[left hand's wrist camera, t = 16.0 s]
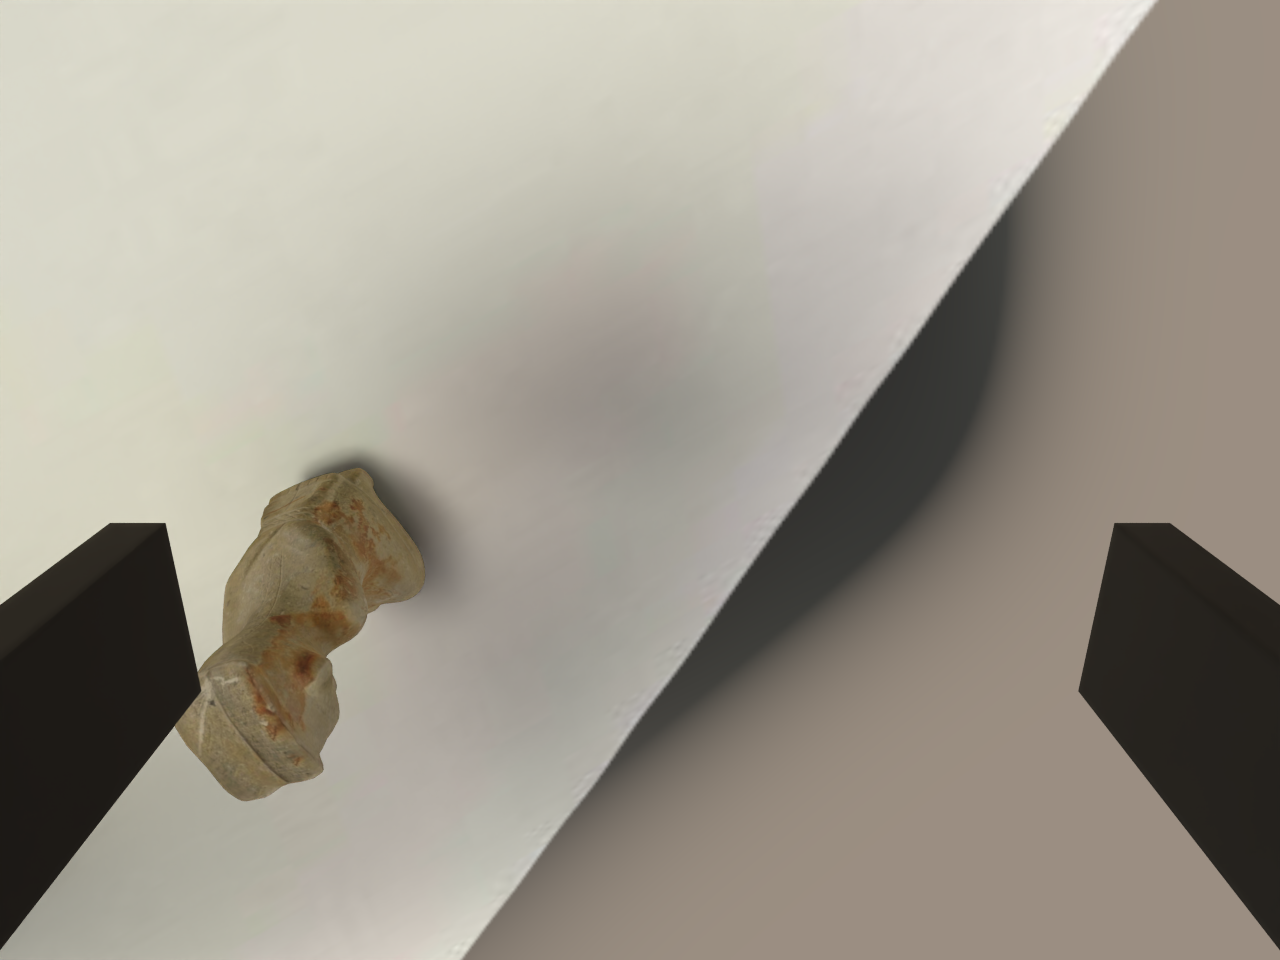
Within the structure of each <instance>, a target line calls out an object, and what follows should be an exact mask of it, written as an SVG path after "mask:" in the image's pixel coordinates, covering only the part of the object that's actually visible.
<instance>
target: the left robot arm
mask: <svg viewBox="0 0 1280 960" xmlns="http://www.w3.org/2000/svg"><path fill="white" fill-rule="evenodd" d="M200 692H201V686H200V681H199V677H198V672H197V667H196V663H195V658H194V653H193V649H192V644H191V639H190V635H189V630H188V626H187V621H186V616H185V612H184V607H183V602H182V598H181V593H180V588H179V584H178V579H177V574H176V570H175V565H174V561H173V556H172V551H171V547H170V542H169V537H168V533H167V528H166V523H110V524H108V525H107V526H106V527H104V528H103V529H102V530H100V531H99V532H97V533H96V534H95V535H93V536H92V537H91V538H89V539H88V540H87V541H85V542H84V543H83V544H81V545H80V546H79V547H77V548H76V549H75V550H73V551H72V552H71V553H69V554H68V555H67V556H65V557H64V558H63V559H61V560H60V561H59V562H57V563H56V564H55V565H53V566H52V567H51V568H49V569H48V570H47V571H45V572H44V573H43V574H41V575H40V576H39V577H37V578H36V579H35V580H33V581H32V582H30V583H29V584H28V585H26V586H25V587H24V588H22V589H21V590H20V591H18V592H17V593H16V594H14V595H13V596H12V597H10V598H9V599H8V600H6V601H5V602H4V603H2V604H1V605H0V950H1V948H2V947H3V946H4V944H5V943H6V942H7V941H8V939H9V938H10V937H11V935H12V934H13V933H14V932H15V930H16V929H17V928H18V926H19V925H20V924H21V923H22V921H23V920H24V919H25V917H26V916H27V915H28V914H29V912H30V911H31V910H32V908H33V907H34V906H35V905H36V903H37V902H38V901H39V899H40V898H41V897H42V896H43V894H44V893H45V892H46V890H47V889H48V888H49V887H50V885H51V884H52V883H53V881H54V880H55V879H56V878H57V876H58V875H59V874H60V872H61V871H62V870H63V869H64V867H65V866H66V865H67V863H68V862H69V861H70V860H71V858H72V857H73V856H74V854H75V853H76V852H77V851H78V849H79V848H80V847H81V845H82V844H83V843H84V842H85V840H86V839H87V838H88V836H89V835H90V834H91V833H92V831H93V830H94V829H95V827H96V826H97V825H98V824H99V822H100V821H101V820H102V818H103V817H104V816H105V815H106V813H107V812H108V811H109V809H110V808H111V807H112V806H113V804H114V803H115V802H116V800H117V799H118V798H119V797H120V795H121V794H122V793H123V791H124V790H125V789H126V788H127V786H128V785H129V784H130V782H131V781H132V780H133V779H134V777H135V776H136V775H137V773H138V772H139V771H140V770H141V768H142V767H143V766H144V764H145V763H146V762H147V761H148V759H149V758H150V757H151V755H152V754H153V753H154V752H155V750H156V749H157V748H158V746H159V745H160V744H161V743H162V741H163V740H164V739H165V737H166V736H167V735H168V734H169V732H170V731H171V730H172V728H173V727H174V726H175V725H176V723H177V722H178V721H179V719H180V718H181V717H182V716H183V714H184V713H185V712H186V710H187V709H188V708H189V707H190V705H191V704H192V703H193V701H194V700H195V699H196V698H197V696H198V695H199V694H200ZM1079 692H1080V694H1081V695H1082V696H1083V698H1084V699H1085V700H1086V701H1087V703H1088V704H1089V705H1090V707H1091V708H1092V709H1093V710H1094V712H1095V713H1096V714H1097V716H1098V717H1099V718H1100V719H1101V721H1102V722H1103V723H1104V725H1105V726H1106V727H1107V728H1108V730H1109V731H1110V732H1111V734H1112V735H1113V736H1114V737H1115V739H1116V740H1117V741H1118V743H1119V744H1120V745H1121V746H1122V748H1123V749H1124V750H1125V752H1126V753H1127V754H1128V755H1129V757H1130V758H1131V759H1132V761H1133V762H1134V763H1135V764H1136V766H1137V767H1138V768H1139V770H1140V771H1141V772H1142V773H1143V775H1144V776H1145V777H1146V779H1147V780H1148V781H1149V782H1150V784H1151V785H1152V786H1153V788H1154V789H1155V790H1156V791H1157V793H1158V794H1159V795H1160V797H1161V798H1162V799H1163V800H1164V802H1165V803H1166V804H1167V806H1168V807H1169V808H1170V809H1171V811H1172V812H1173V813H1174V815H1175V816H1176V817H1177V818H1178V820H1179V821H1180V822H1181V824H1182V825H1183V826H1184V827H1185V829H1186V830H1187V831H1188V833H1189V834H1190V835H1191V836H1192V838H1193V839H1194V840H1195V842H1196V843H1197V844H1198V845H1199V847H1200V848H1201V849H1202V851H1203V852H1204V853H1205V854H1206V856H1207V857H1208V858H1209V860H1210V861H1211V862H1212V863H1213V865H1214V866H1215V867H1216V869H1217V870H1218V871H1219V872H1220V874H1221V875H1222V876H1223V878H1224V879H1225V880H1226V881H1227V883H1228V884H1229V885H1230V887H1231V888H1232V889H1233V890H1234V892H1235V893H1236V894H1237V896H1238V897H1239V898H1240V899H1241V901H1242V902H1243V903H1244V905H1245V906H1246V907H1247V908H1248V910H1249V911H1250V912H1251V914H1252V915H1253V916H1254V917H1255V919H1256V920H1257V921H1258V923H1259V924H1260V925H1261V926H1262V928H1263V929H1264V930H1265V932H1266V933H1267V934H1268V935H1269V937H1270V938H1271V939H1272V941H1273V942H1274V943H1275V944H1276V946H1277V947H1278V948H1279V950H1280V605H1279V604H1278V603H1276V602H1275V601H1274V600H1272V599H1271V598H1270V597H1268V596H1267V595H1266V594H1264V593H1263V592H1262V591H1260V590H1259V589H1257V588H1256V587H1255V586H1254V585H1252V584H1251V583H1249V582H1248V581H1247V580H1245V579H1244V578H1243V577H1241V576H1240V575H1239V574H1237V573H1236V572H1235V571H1233V570H1232V569H1231V568H1229V567H1228V566H1227V565H1225V564H1224V563H1223V562H1221V561H1220V560H1219V559H1217V558H1216V557H1215V556H1213V555H1212V554H1211V553H1209V552H1208V551H1207V550H1205V549H1204V548H1203V547H1201V546H1200V545H1199V544H1197V543H1196V542H1195V541H1193V540H1192V539H1191V538H1189V537H1188V536H1187V535H1185V534H1184V533H1183V532H1181V531H1180V530H1178V529H1177V528H1176V527H1174V526H1173V525H1172V524H1170V523H1115V524H1114V528H1113V533H1112V537H1111V542H1110V547H1109V551H1108V556H1107V561H1106V565H1105V570H1104V574H1103V579H1102V584H1101V588H1100V593H1099V598H1098V602H1097V607H1096V612H1095V616H1094V621H1093V626H1092V630H1091V635H1090V639H1089V644H1088V649H1087V653H1086V658H1085V663H1084V667H1083V672H1082V677H1081V681H1080V686H1079Z"/></svg>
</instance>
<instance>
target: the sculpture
mask: <svg viewBox="0 0 1280 960" xmlns="http://www.w3.org/2000/svg"><path fill="white" fill-rule="evenodd" d="M373 486H374V482H373V479H372V478H371V477H370V476H369V474H368V473H367V472H366V471H364V470H363V469H361V468H354V469H350V470H346V471H343V472H340V473H338V474H337V473H328V474H324V475H321V476H318V477H315V478H312V479H309V480H306V481H304V482H301V483H299V484H296V485H294V486H292V487H290V488H288V489H286V490H284V491H282V492H280V493H278V494H276V495H275V496H273V497H272V498H271V499H270V502H269V505H268V506H267V507H266V508H265V509H264V512H263V516H262V518H261V530H260V532H259V535H258V537H257V538H256V539H255V541H254V542H253V543H252V544H251V545H250V547H249V548H248V549H247V551H246V552H245V554H244V556H243V557H242V559H241V560H240V562H239V563H238V565H237V567H236V568H235V570H234V571H233V573H232V574H231V576H230V578H229V580H228V582H227V584H226V588H225V595H224V608H223V627H222V633H223V645H222V646H221V647H220V648H219V649H218V650H216V651H215V652H214V653H213V654H212V655H211V656H210V657H209V658H208V659H207V660H206V661H205V662H204V664H203V665H202V667H201V668H200V670H199V671H198V677H199V681H200V686H201V692H200V694H199V695H198V696H197V698H196V699H195V700H194V701H193V703H192V704H191V705H190V707H189V708H188V709H187V710H186V712H185V713H184V714H183V716H182V717H181V718H180V719H179V721H178V722H177V723H176V725H175V728H176V729H177V731H178V732H179V734H180V736H181V737H182V739H183V740H184V742H185V744H186V745H187V746H188V748H189V749H190V750H191V751H192V752H193V753H194V754H195V755H196V756H197V757H198V758H199V759H200V761H201V762H202V763H203V764H204V765H205V766H206V767H207V768H208V770H209V771H210V772H211V773H212V774H213V776H214V777H215V778H216V779H217V781H218V782H219V783H220V784H221V786H222V787H223V788H224V789H225V790H226V791H227V792H228V793H230V794H231V795H233V796H234V797H236V798H237V799H239V800H241V801H250V800H255V799H260V798H265V797H267V796H269V795H270V794H272V793H273V792H275V791H276V790H278V789H279V788H280V787H282V786H284V785H286V784H289V783H295V782H302V781H305V780H309V779H312V778H315V777H316V776H318V775H319V774H321V773H322V772H323V770H324V769H323V763H322V760H321V758H320V754H319V753H320V752H321V750H322V748H323V746H324V744H325V742H326V740H327V738H328V737H329V735H330V734H331V732H332V731H333V729H334V727H335V725H336V723H337V722H338V719H339V703H338V699H337V695H336V688H337V685H336V681H335V679H334V677H333V674H332V664H331V661H330V660H329V659H328V658H326V656H327V655H328V654H329V653H330V652H331V651H332V650H334V649H336V648H337V647H339V646H340V645H342V644H344V643H346V642H348V641H349V640H351V639H352V638H353V637H355V636H356V635H357V634H358V633H359V631H360V630H361V629H362V627H363V625H364V623H365V621H366V617H367V614H368V613H370V612H372V611H375V610H376V609H377V608H378V607H379V606H380V605H381V604H385V603H394V602H402V601H405V600H408V599H410V598H412V597H414V596H415V595H416V594H417V593H418V592H419V591H420V589H421V588H422V586H423V584H424V580H425V568H424V562H423V559H422V556H421V554H420V552H419V550H418V548H417V546H416V544H415V543H414V542H413V540H412V539H411V537H410V536H409V534H408V533H407V532H406V531H405V529H404V528H403V527H402V525H401V524H400V523H399V522H398V520H397V519H396V518H395V517H394V516H393V515H392V513H391V512H390V511H389V510H388V509H387V508H386V507H385V506H384V504H383V503H382V502H381V501H380V500H379V498H378V496H377V495H376V493H375V491H374V489H373Z"/></svg>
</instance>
